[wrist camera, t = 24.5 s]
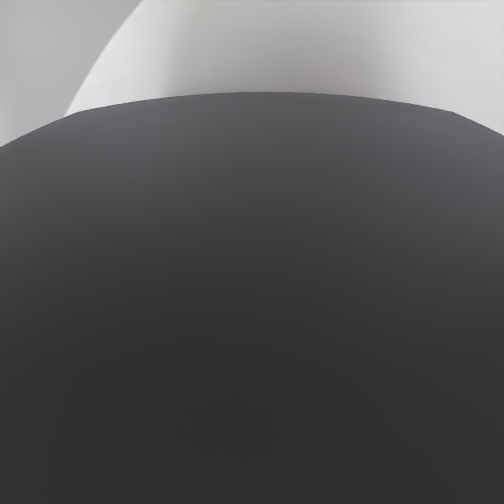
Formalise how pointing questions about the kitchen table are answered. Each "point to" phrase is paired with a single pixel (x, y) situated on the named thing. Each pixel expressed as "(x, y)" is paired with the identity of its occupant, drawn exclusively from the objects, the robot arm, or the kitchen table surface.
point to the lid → (253, 304)
